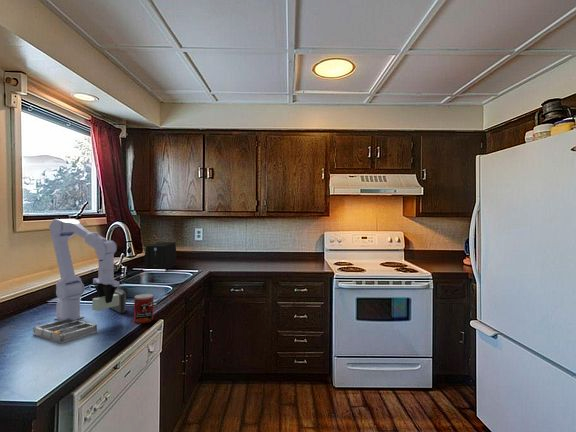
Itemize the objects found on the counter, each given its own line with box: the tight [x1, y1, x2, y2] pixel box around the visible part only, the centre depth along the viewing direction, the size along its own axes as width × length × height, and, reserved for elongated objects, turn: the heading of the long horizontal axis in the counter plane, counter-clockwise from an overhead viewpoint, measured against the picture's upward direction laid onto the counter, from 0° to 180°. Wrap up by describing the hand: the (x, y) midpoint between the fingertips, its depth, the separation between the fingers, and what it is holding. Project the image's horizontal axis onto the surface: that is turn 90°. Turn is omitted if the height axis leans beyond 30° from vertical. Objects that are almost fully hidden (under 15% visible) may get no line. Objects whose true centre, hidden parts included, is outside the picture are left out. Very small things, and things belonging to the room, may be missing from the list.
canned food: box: [133, 293, 154, 324], centre depth 156 cm, size 8×8×11 cm
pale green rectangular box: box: [92, 294, 119, 312], centre depth 151 cm, size 3×10×4 cm, turn 152°
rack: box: [32, 318, 98, 344], centre depth 139 cm, size 18×14×3 cm
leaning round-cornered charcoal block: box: [109, 288, 127, 314], centre depth 172 cm, size 16×5×9 cm, turn 47°
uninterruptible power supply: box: [143, 241, 178, 270], centre depth 291 cm, size 16×34×20 cm, turn 3°
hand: (105, 301), depth 151 cm, fingers closed on pale green rectangular box, 3 cm apart
